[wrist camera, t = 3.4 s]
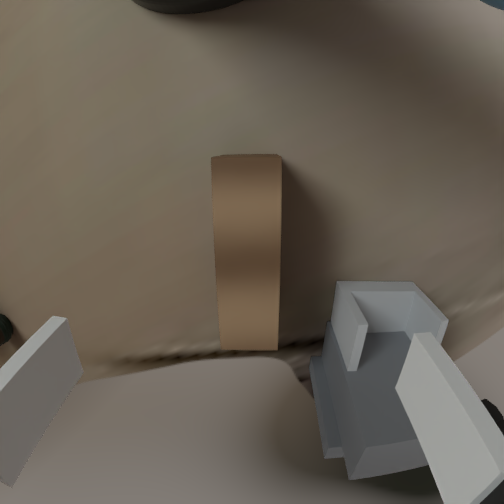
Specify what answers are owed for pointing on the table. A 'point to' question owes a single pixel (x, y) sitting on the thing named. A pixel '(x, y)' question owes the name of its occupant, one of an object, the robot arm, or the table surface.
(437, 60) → the table surface
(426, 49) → the table surface
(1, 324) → the potato masher grenade
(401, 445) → the grey toy armchair
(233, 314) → the tan rectangular block
